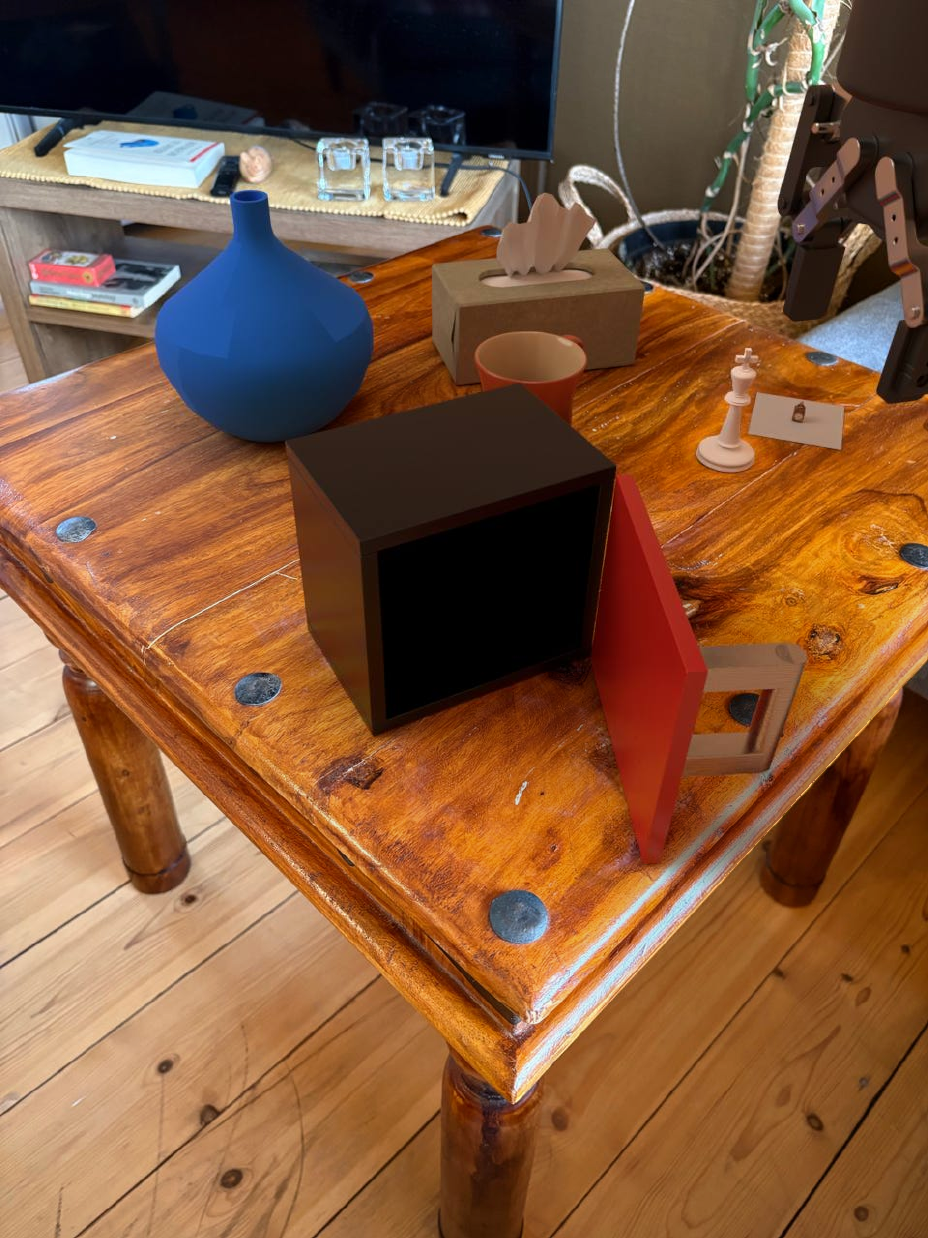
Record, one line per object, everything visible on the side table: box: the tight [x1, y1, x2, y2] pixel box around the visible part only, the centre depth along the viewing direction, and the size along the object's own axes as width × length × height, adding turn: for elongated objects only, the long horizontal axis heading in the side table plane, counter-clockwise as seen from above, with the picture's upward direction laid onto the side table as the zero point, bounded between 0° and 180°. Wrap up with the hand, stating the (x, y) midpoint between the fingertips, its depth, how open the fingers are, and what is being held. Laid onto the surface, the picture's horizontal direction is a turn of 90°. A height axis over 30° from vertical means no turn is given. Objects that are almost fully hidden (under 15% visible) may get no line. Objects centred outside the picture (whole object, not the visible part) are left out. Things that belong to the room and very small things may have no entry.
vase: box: [154, 189, 375, 443], centre depth 83 cm, size 18×18×19 cm
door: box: [590, 473, 808, 865], centre depth 55 cm, size 7×16×15 cm, turn 5°
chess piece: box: [695, 347, 759, 473], centre depth 82 cm, size 5×5×10 cm
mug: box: [474, 331, 587, 427], centre depth 81 cm, size 12×9×10 cm
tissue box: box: [431, 192, 646, 386], centre depth 94 cm, size 19×10×16 cm, turn 105°
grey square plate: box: [747, 391, 845, 451], centre depth 90 cm, size 8×8×2 cm
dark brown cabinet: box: [284, 383, 618, 737], centre depth 62 cm, size 11×16×15 cm
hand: (847, 355), depth 48 cm, fingers open, 8 cm apart
